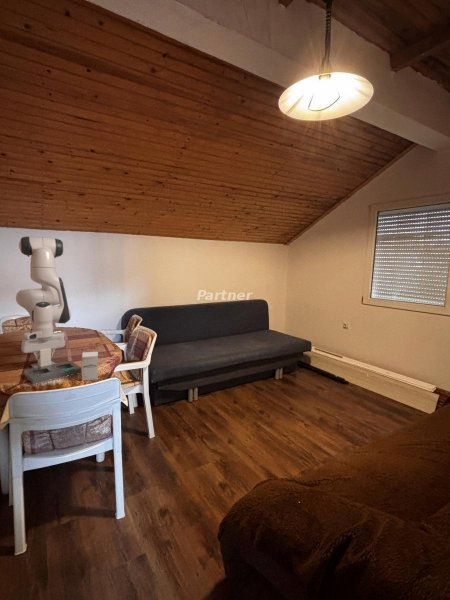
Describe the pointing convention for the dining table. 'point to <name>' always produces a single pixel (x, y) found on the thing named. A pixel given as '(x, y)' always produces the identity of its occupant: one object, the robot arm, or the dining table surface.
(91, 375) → the supplement box
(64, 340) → the robot arm
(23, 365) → the dining table surface
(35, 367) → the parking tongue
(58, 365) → the rack plate
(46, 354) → the peg
